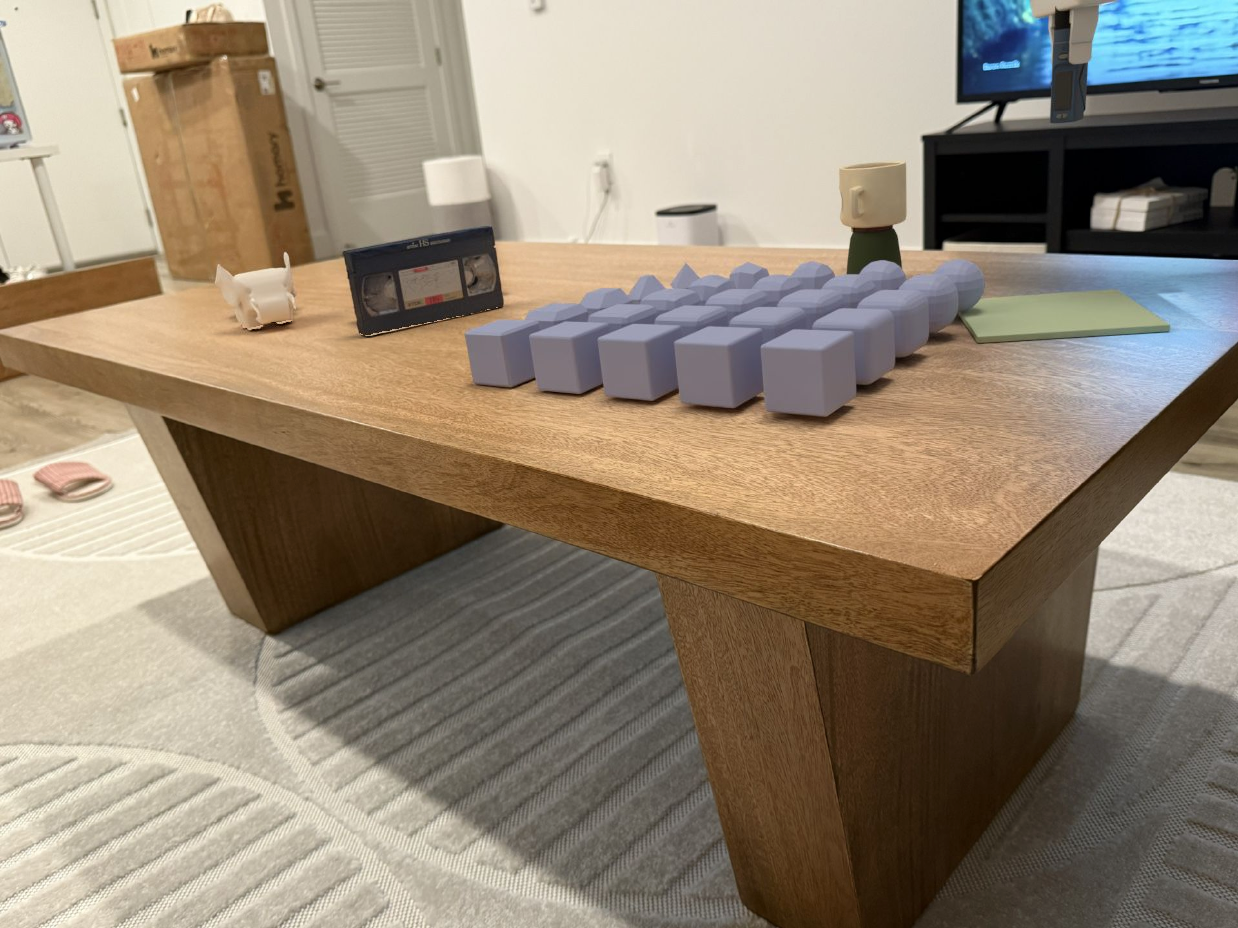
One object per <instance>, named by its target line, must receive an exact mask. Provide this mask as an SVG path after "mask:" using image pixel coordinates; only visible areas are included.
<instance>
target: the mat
mask: <svg viewBox="0 0 1238 928" xmlns="http://www.w3.org/2000/svg"><path fill="white" fill-rule="evenodd" d="M957 315H958V316H959V318H960V319H961V321H962V323H963V324H964V325H965V327H966V328H967V329H968V331H969V332H970V334H971V335H972V337H973V339H974V340H975V342H976V343H977V344H989V343H1004V342H1005V343H1006V342H1019V341H1021V342H1022V341H1036V340H1052V339H1053V340H1054V339H1067V338H1068V339H1069V338H1086V337H1101V336H1103V337H1104V336H1118V335H1134V334H1149V333H1166V332H1170V331H1171V324H1170V323H1169V322H1167V321H1166V320H1164V319H1162V318H1161V317H1159V316H1158V315H1156V314H1154V313H1153V312H1152V311H1150V310H1148V309H1147V308H1146V307H1145V306H1143V305H1142V304H1140V303H1138V302H1137V301H1135V300H1134V299H1132V298H1131V297H1129V296H1127V295H1126V294H1125V293H1123V292H1121V291H1120V290H1119V289H1118V288H1115V289H1114V288H1110V289H1098V290H1083V291H1082V290H1081V291H1069V292H1068V291H1067V292H1054V293H1039V294H1027V295H1025V294H1024V295H1010V296H996V297H983V298H982V297H981V298H980V300H979V302H978V303H977V304H976V305H975V306H974V307H972V308H970V309H968V310H966V311H962V312H957Z"/></svg>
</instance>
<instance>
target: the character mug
mask: <svg viewBox="0 0 1238 928" xmlns="http://www.w3.org/2000/svg"><path fill="white" fill-rule="evenodd" d="M838 170H839V171H838V172H839V174H838V175H839V176H838V177H839V178H838V179H839V183H838V190H839V193H840V197H841V210H840V215H839V219H840V222H841V223H842V225H844V226H846V227H849V228H851V229H850V230H851V233H852V234H851V236H850V238H849V245H848V254H847V260H846V261H847V262H846V274H860V272H861V271H862V269H863V268H864V267H866V266H867V265H868V264H870V263H871V262H875V261H879V260H885V261H890V262H894V263H896V264H897V265H898V266H900V267H901V268H902V269H903V262H902V255H901V249H900V248H901V247H900V244H899V243H900V241H899V236H898V233H897V231H896V230H895V228H894V226H895V225H899V224H901V223H904V222H905V221H906V220H907V162H905V161H902V160H901V161H899V160H896V161H895V160H887V161H875V162H866V163H857V164H850V165H845V166H841V167H839V169H838Z"/></svg>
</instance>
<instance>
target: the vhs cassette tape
mask: <svg viewBox="0 0 1238 928" xmlns="http://www.w3.org/2000/svg"><path fill="white" fill-rule="evenodd" d="M495 238H496V237H495V234H494V228H493V226H492V225H491V226H490V225H481V226H475V227H470V228H464V229H458V230H451V231H447V232H440V233H435V234H430V235H423V236H418V237H413V238H407V239H402V240H397V241H391V242H385V243H379V244H375V245H374V244H373V245H369V246H363V247H358V248H353V249H347V250H343V251H342V255H343V258H344V259H343V260H344V265H345V268H346V269H345V270H346V272H347V273H346V274H347V279H348V284H349V290H350V295H351V299H352V304H353V305H352V306H353V310H354V316H355V318H356V319H355V320H356V327H357V330H358V333H359V334H360V333H361V334H363V335H371V334H373V333H379V332H382V331H390V330H392V329H399V328H402V327H409V326H411V325H418V324H424V323H427V322H434V321H437V320H443V319H446V318H452V317H456V316H462V315H467V316H469V315H468V314H471V313H476V314H478V313H477V312H480V311H485V310H487V309H493V310H495V309H494V308H496V307H502V306H503V307H504V305H505V300H504V292H503V289H502V288H503V287H502V282H501V281H502V280H501V275H500V267H499V261H498V259H499V258H498V253H497V248H496V247H495V246H496V239H495ZM503 307H502V308H503ZM485 312H486V311H485Z"/></svg>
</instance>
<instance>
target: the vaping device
mask: <svg viewBox="0 0 1238 928" xmlns="http://www.w3.org/2000/svg"><path fill="white" fill-rule="evenodd" d="M1055 10H1056V11H1055V23H1054V43H1053V59H1052V62H1051V80H1050V107H1049V111H1050V112H1049V124H1066V123H1076V122H1078V121H1081V120H1083V119H1084V118H1085V117H1084V116H1085V111H1086V107H1087V89H1088V68H1089V62H1087V63H1082V64H1069V63H1068V62H1067V45H1068V44H1069V41H1070V29H1071V23H1070V10H1067V11H1058V10H1057V8H1056V6H1055ZM1057 11H1058V12H1057Z"/></svg>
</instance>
